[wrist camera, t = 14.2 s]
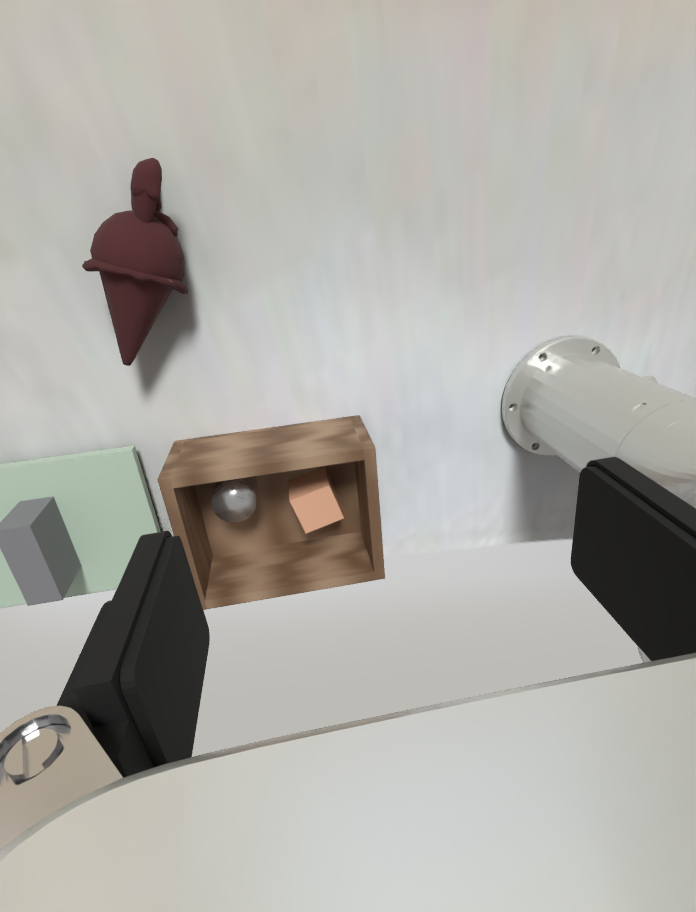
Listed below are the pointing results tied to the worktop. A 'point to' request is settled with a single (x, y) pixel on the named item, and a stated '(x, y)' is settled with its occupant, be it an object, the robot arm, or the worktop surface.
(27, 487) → the lid
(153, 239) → the icecream
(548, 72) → the worktop surface
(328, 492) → the terracotta cube
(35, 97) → the worktop surface
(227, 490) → the shiny steel ball
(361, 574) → the box
